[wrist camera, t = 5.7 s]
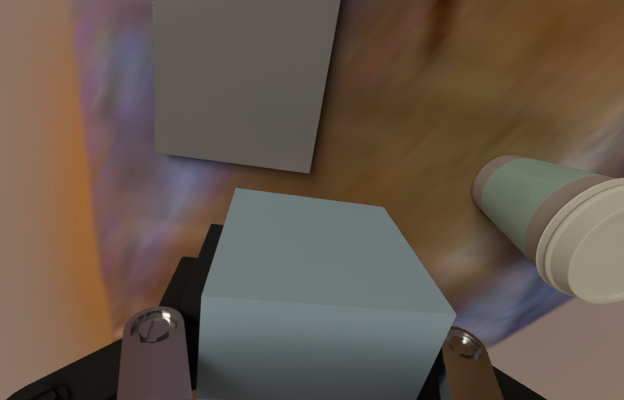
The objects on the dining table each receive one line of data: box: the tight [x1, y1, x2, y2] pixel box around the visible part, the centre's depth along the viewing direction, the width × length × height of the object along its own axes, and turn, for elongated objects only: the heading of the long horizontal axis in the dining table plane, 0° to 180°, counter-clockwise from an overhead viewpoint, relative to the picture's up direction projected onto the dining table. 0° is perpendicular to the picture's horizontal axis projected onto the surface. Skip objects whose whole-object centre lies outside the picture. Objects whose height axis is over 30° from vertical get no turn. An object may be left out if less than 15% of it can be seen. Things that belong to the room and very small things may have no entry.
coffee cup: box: [472, 155, 624, 304], centre depth 24 cm, size 8×8×12 cm
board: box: [152, 0, 341, 173], centre depth 22 cm, size 20×12×2 cm, turn 170°
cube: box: [196, 188, 456, 400], centre depth 10 cm, size 6×6×6 cm
